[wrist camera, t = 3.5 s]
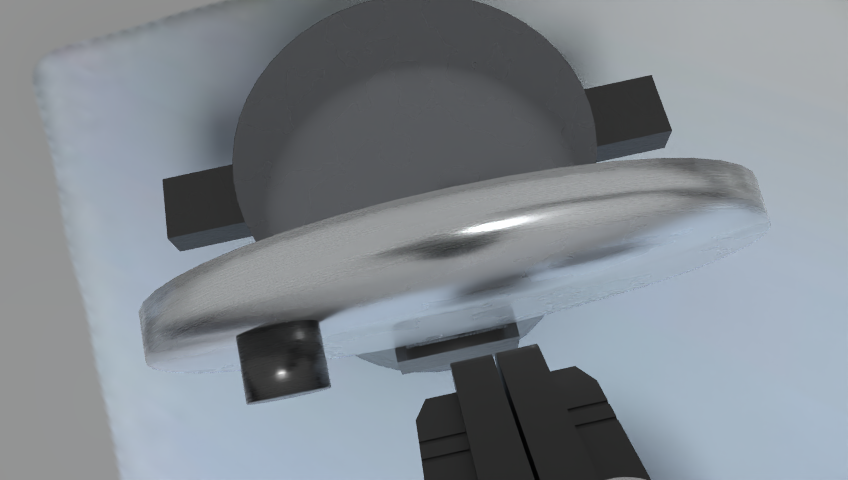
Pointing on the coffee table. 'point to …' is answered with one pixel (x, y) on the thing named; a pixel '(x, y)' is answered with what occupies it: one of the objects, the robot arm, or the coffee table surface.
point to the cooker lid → (446, 267)
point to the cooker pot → (407, 131)
